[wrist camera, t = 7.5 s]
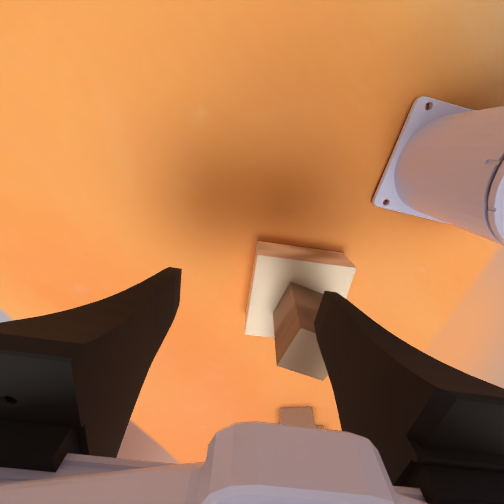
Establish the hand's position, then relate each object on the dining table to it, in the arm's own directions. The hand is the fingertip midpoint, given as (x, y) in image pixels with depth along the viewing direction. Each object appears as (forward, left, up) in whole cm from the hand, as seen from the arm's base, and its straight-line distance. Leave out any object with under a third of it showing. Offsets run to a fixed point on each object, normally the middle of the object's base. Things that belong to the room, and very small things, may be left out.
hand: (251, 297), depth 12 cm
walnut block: (-5, +4, -7) cm, 10 cm away
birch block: (-5, +4, -11) cm, 13 cm away
